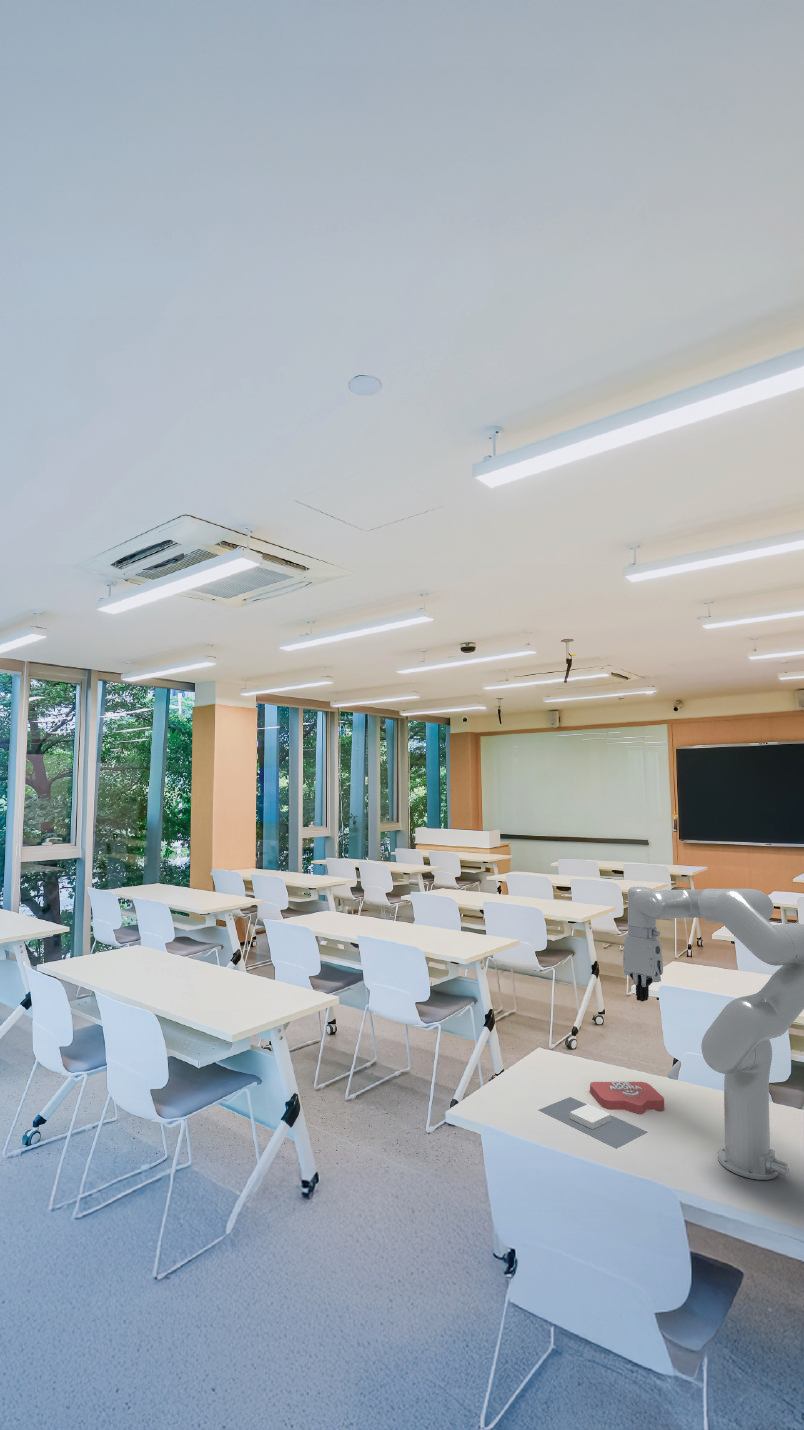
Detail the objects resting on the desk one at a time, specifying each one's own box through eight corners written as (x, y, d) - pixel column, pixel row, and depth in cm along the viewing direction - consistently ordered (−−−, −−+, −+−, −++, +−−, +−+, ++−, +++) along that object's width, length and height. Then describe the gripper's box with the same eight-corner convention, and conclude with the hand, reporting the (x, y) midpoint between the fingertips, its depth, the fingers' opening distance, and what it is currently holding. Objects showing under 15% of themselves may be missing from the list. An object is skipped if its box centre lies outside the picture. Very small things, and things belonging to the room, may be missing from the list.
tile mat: (647, 1134, 171) (647, 1132, 171) (616, 1150, 162) (616, 1148, 162) (570, 1098, 189) (570, 1096, 189) (537, 1111, 181) (538, 1110, 181)
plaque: (608, 1103, 180) (587, 1079, 195) (608, 1118, 179) (587, 1093, 194) (672, 1102, 182) (646, 1079, 196) (672, 1117, 181) (646, 1093, 196)
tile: (610, 1114, 176) (588, 1104, 181) (592, 1122, 171) (569, 1112, 176) (610, 1121, 176) (588, 1110, 181) (592, 1129, 171) (569, 1118, 176)
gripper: (673, 935, 186) (674, 1005, 184) (625, 926, 197) (625, 991, 195) (659, 938, 181) (660, 1009, 179) (611, 928, 193) (611, 995, 190)
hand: (642, 1000), depth 187 cm, fingers closed
